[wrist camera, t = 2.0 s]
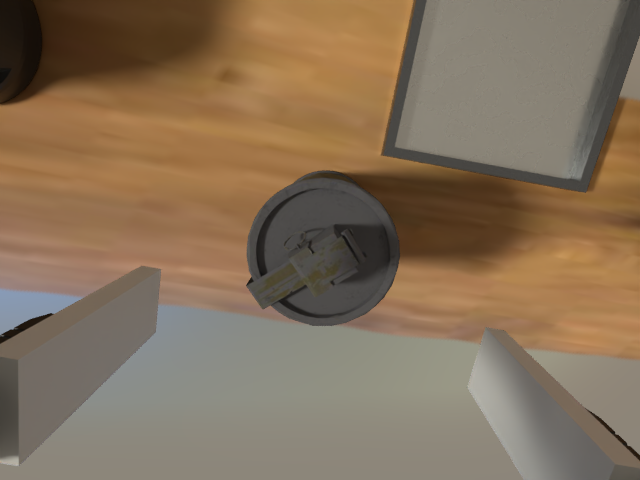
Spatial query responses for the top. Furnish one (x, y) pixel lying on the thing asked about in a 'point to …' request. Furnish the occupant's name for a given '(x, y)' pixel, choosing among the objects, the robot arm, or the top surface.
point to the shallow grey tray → (511, 86)
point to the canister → (322, 250)
